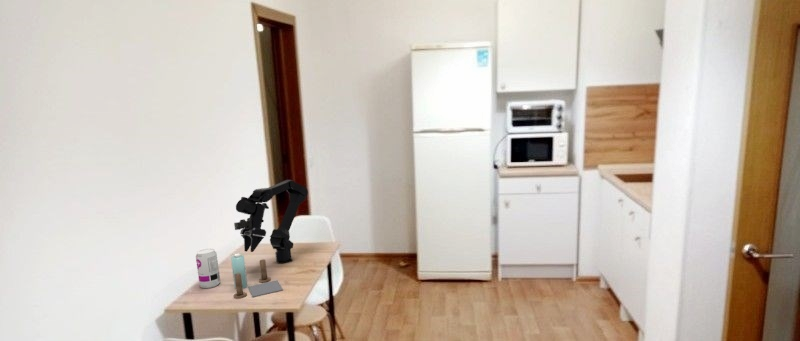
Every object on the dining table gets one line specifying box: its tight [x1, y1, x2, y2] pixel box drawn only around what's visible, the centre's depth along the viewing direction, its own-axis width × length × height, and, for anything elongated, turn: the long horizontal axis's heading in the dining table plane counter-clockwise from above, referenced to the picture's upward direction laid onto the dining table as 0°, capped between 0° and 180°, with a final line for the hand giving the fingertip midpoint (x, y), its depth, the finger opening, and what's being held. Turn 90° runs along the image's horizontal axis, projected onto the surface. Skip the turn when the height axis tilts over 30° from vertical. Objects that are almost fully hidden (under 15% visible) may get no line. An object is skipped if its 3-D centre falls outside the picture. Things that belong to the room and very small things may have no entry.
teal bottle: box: [230, 252, 248, 290], centre depth 190 cm, size 5×5×14 cm
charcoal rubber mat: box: [247, 279, 284, 298], centre depth 187 cm, size 12×12×1 cm
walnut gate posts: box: [233, 259, 272, 300], centre depth 188 cm, size 21×5×9 cm, turn 161°
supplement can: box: [195, 248, 221, 289], centre depth 195 cm, size 8×8×15 cm
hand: (248, 251), depth 201 cm, fingers open, 9 cm apart
